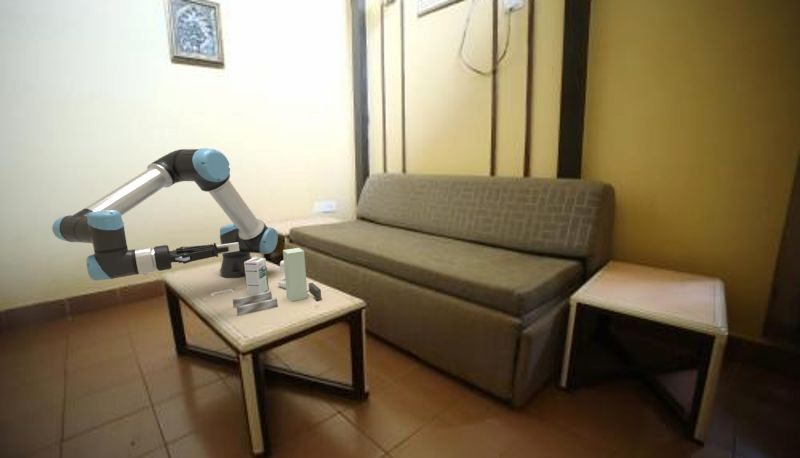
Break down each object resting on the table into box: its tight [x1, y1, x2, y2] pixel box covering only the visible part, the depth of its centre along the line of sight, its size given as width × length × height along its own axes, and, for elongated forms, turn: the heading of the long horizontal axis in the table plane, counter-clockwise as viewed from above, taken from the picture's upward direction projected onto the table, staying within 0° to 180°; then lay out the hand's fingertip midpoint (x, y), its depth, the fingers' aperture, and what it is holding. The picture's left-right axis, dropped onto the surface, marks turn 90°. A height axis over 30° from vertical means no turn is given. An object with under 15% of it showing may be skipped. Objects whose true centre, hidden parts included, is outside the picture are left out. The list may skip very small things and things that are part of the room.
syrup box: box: [244, 257, 270, 295], centre depth 140 cm, size 6×6×14 cm
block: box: [282, 247, 308, 303], centre depth 134 cm, size 6×6×18 cm
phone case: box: [210, 288, 234, 297], centre depth 139 cm, size 7×1×15 cm
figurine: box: [276, 259, 286, 290], centre depth 146 cm, size 7×9×15 cm
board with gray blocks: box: [232, 282, 323, 317], centre depth 132 cm, size 30×10×4 cm, turn 123°
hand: (238, 246), depth 122 cm, fingers closed
